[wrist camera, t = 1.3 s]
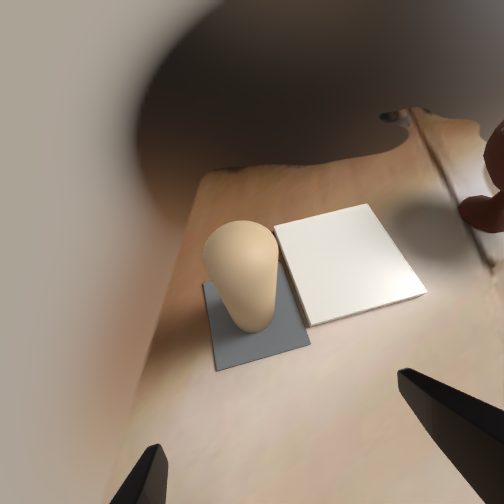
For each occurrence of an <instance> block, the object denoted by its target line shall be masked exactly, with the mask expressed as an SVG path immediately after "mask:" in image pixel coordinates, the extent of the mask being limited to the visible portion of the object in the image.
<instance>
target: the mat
mask: <svg viewBox="0 0 504 504" xmlns="http://www.w3.org/2000/svg"><path fill="white" fill-rule="evenodd" d="M203 285H204V291H205V297H206V304H207V310H208V316H209V323H210V329H211V335H212V342H213V348H214V354H215V361H216V367H217V371H219V370H223V369H226V368H230V367H233V366H237V365H240V364H244V363H247V362H251V361H254V360H258V359H261V358H265V357H268V356H272V355H275V354H278V353H282V352H285V351H289V350H292V349H296V348H299V347H303V346H306V345H310V344H311V343H310V340H309V337H308V334H307V332H306V329H305V326H304V323H303V321H302V318H301V315H300V312H299V310H298V307H297V304H296V301H295V299H294V296H293V293H292V290H291V288H290V285H289V282H288V279H287V277H286V274H285V271H284V268H283V266H282V263H281V262H280V263H278V267H277V281H276V295H275V310H274V317H273V320H272V322H271V323H270V325H269V326H268V327H267V328H266V329H264V330H263V331H260V332H257V333H248V332H245V331H242V330H241V329H239V328H238V327H237V326H236V325H235V323H234V321H233V320H232V318H231V316H230V314H229V312H228V310H227V308H226V306H225V304H224V303H223V301H222V299H221V297H220V295H219V293H218V291H217V289H216V288H215V286H214V284H213V282H212V280H211V281H207V282H203Z"/></svg>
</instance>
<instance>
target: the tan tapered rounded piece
mask: <svg viewBox="0 0 504 504" xmlns="http://www.w3.org/2000/svg"><path fill="white" fill-rule="evenodd" d="M202 258H203V263H204V266H205V269H206V271H207V272H208V274H209V276H210V278H211V280H212V282H213V284H214V286H215V288H216V289H217V291H218V293H219V295H220V297H221V299H222V301H223V303H224V304H225V306H226V308H227V310H228V312H229V314H230V316H231V318H232V320H233V321H234V323H235V325H236V326H237V327H238V328H239V329H241V330H242V331H245V332H248V333H257V332H260V331H263V330H264V329H266V328H267V327H268V326H269V325H270V323H271V322H272V320H273V317H274V310H275V295H276V281H277V267H278V244H277V241H276V239H275V237H274V236H273V234H272V233H271V232H270V231H269V230H268V229H267V228H265V227H264V226H262V225H260V224H258V223H255V222H251V221H234V222H230V223H227V224H225V225H223V226H221V227H219V228H218V229H216V230H215V231H214V232H213V233H212V234H211V235H210V236H209V238H208V239H207V241H206V243H205V245H204V248H203V254H202Z"/></svg>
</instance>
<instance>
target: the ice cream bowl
mask: <svg viewBox="0 0 504 504" xmlns="http://www.w3.org/2000/svg"><path fill="white" fill-rule="evenodd" d="M483 157H484V160H485V164H486V168H487V170H488V173H489V175H490V177H491V179H492V181H493V183H494V185H495V186H496V187H497V188H498V189H500V192H498V193H497V194H496V195H495V196H493V197H492V198H490V197H487V196H483V195H480V196H473V197H468V198H466V199H465V200H464V201H463V202H462V203H461V204H460V206H459V210H460V213H461V216H462V218H463V219H464V220H466V221H467V222H468V223H469V224H471V225H472V226H473V227H474V228H477V229H480V230H483V231H487V232H490V233H497V232H504V120H503V121H502V122H501V123H500V125H498V127H497V128H496V129H495V130H494V132H493V134H492V136H491V137H490V139H489V140H488V142H487V144H486V147H485V151H484V155H483Z"/></svg>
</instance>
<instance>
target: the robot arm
mask: <svg viewBox="0 0 504 504" xmlns="http://www.w3.org/2000/svg"><path fill="white" fill-rule="evenodd" d="M397 377H398V388H399V391H400V393H401V395H402V396H403V398H404V399H405V400H406V402H407V403H408V405H409V406H410V408H411V409H412V410H413V412H414V413H415V415H416V416H417V418H418V419H419V421H420V422H421V423H422V425H423V426H424V428H425V429H426V431H427V432H428V433H429V435H430V436H431V438H432V439H433V440H434V441H435V443H436V444H437V445H438V446H439V448H440V449H441V450H442V451H443V453H444V454H445V455H446V456H447V457H448V459H449V460H450V461H451V462H452V464H453V465H454V466H455V467H456V468H457V470H458V471H459V472H460V473H461V474H462V476H463V477H464V478H465V479H466V481H467V482H468V483H469V484H470V485H471V487H472V488H473V489H474V490H475V492H476V493H477V494H478V495H479V496H480V498H481V499H482V500H483V501H484V503H485V504H504V411H503V410H501V409H499V408H497V407H494V406H492V405H490V404H488V403H486V402H483V401H481V400H479V399H477V398H475V397H472V396H470V395H468V394H466V393H464V392H461V391H459V390H457V389H455V388H453V387H450V386H448V385H446V384H444V383H442V382H439V381H437V380H435V379H433V378H431V377H428V376H426V375H424V374H422V373H420V372H417V371H415V370H413V369H411V368H404V369H401V370H398V372H397ZM167 477H168V460H167V457H166V455H165V453H164V451H163V448H162V446H161V445H160V444H155V445H152V446H149V447H148V448H147V449H146V450H145V451H144V453H143V454H142V456H141V457H140V459H139V460H138V462H137V463H136V465H135V466H134V468H133V469H132V471H131V472H130V474H129V475H128V477H127V478H126V480H125V481H124V483H123V484H122V486H121V487H120V489H119V490H118V492H117V493H116V495H115V496H114V497H113V499H112V500H111V502H110V503H109V504H165V503H166V490H167Z"/></svg>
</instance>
